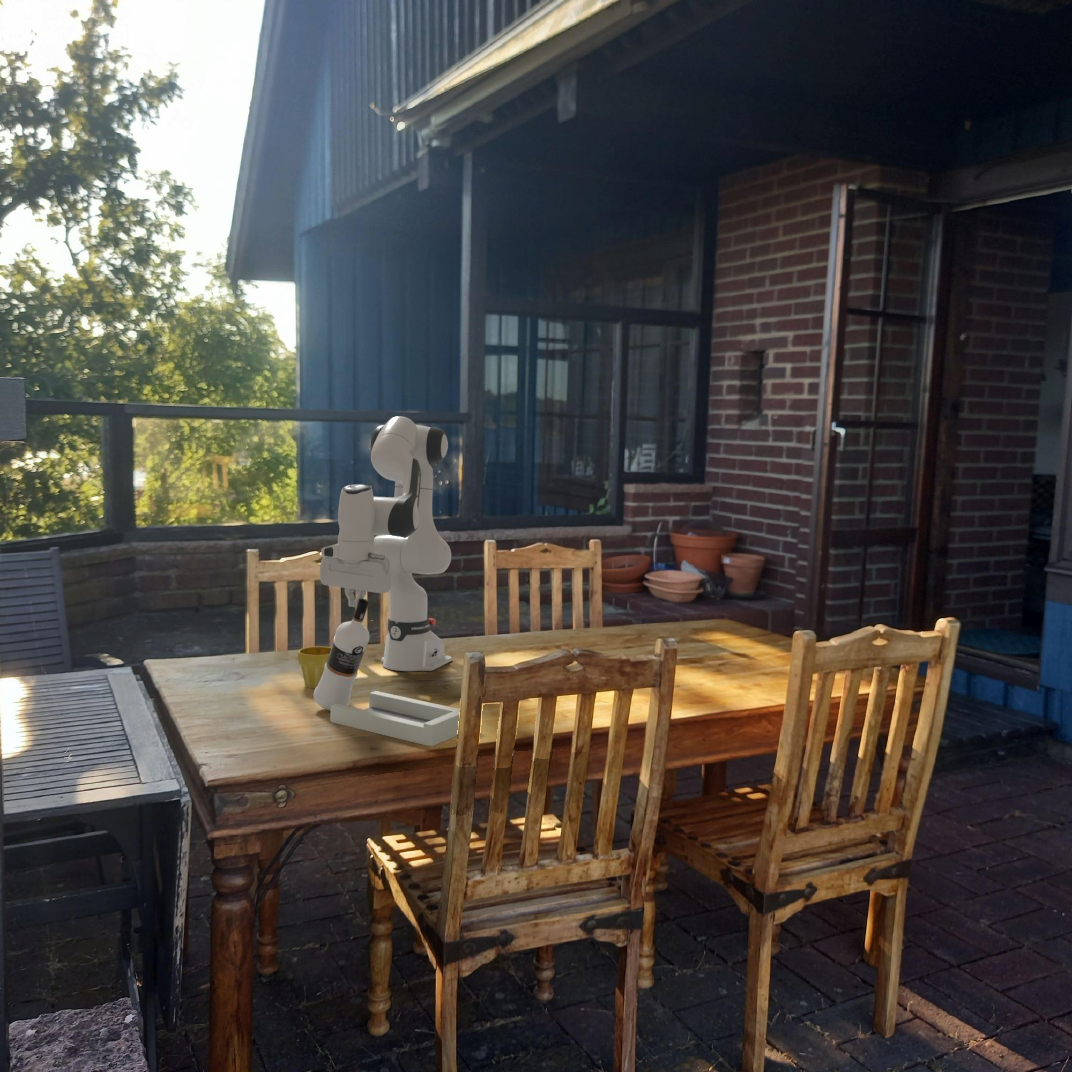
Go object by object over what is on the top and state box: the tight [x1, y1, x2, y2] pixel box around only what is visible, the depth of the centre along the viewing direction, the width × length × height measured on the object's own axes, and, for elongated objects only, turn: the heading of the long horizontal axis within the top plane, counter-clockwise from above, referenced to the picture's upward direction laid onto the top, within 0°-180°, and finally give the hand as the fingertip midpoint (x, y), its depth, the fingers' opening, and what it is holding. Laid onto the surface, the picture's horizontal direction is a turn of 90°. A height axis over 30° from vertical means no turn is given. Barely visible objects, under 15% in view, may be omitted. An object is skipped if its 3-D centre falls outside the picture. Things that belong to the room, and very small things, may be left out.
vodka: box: [313, 598, 371, 712], centre depth 258 cm, size 9×9×30 cm
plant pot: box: [297, 645, 332, 689], centre depth 284 cm, size 10×10×10 cm
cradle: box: [329, 690, 461, 747], centre depth 251 cm, size 17×30×5 cm, turn 59°
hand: (355, 606), depth 256 cm, fingers closed
